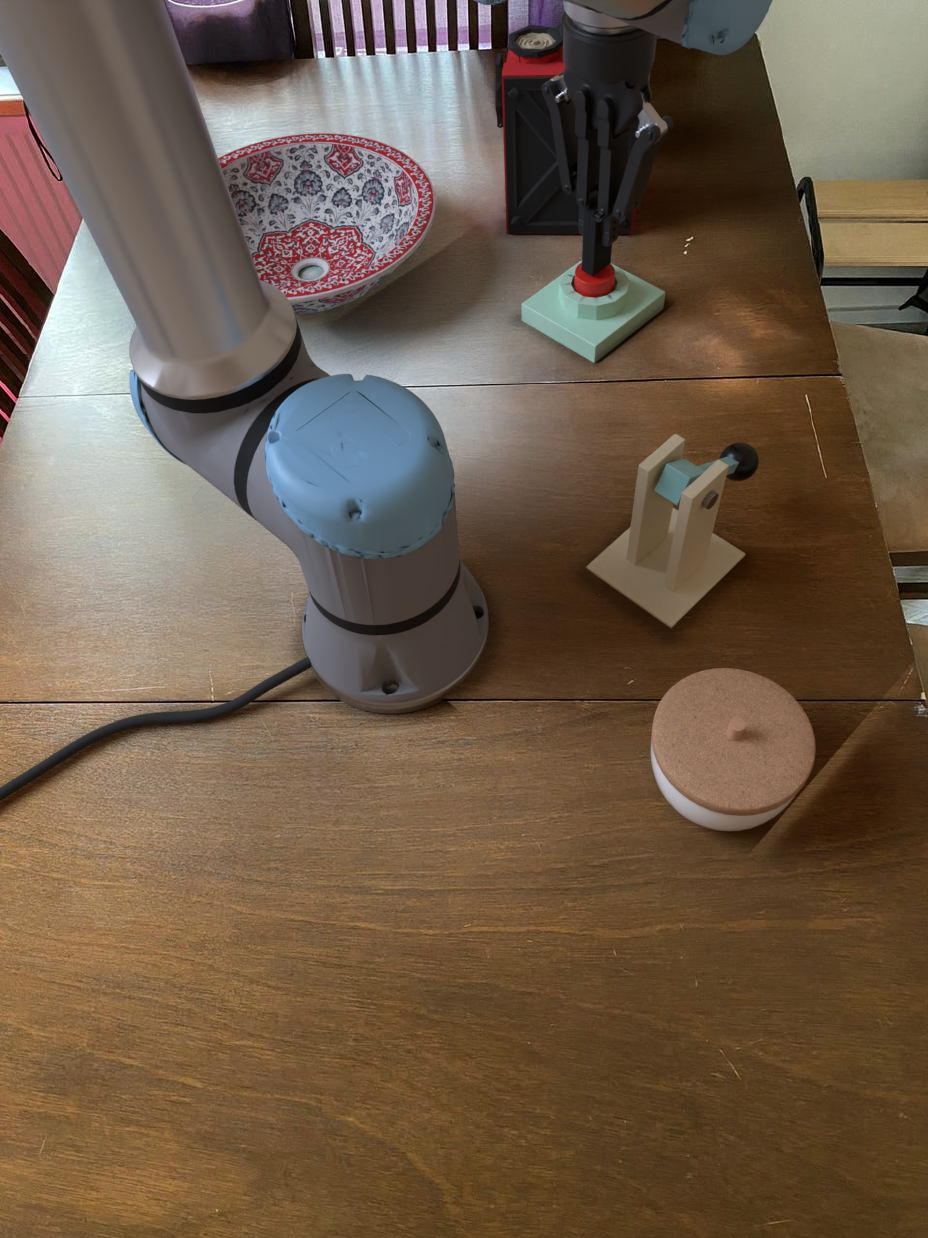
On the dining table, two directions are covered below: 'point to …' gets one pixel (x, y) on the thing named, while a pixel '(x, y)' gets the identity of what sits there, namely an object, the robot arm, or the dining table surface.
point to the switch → (685, 472)
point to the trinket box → (730, 748)
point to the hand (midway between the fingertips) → (596, 266)
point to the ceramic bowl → (328, 213)
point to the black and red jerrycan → (535, 136)
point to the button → (594, 282)
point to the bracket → (669, 541)
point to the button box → (592, 312)
